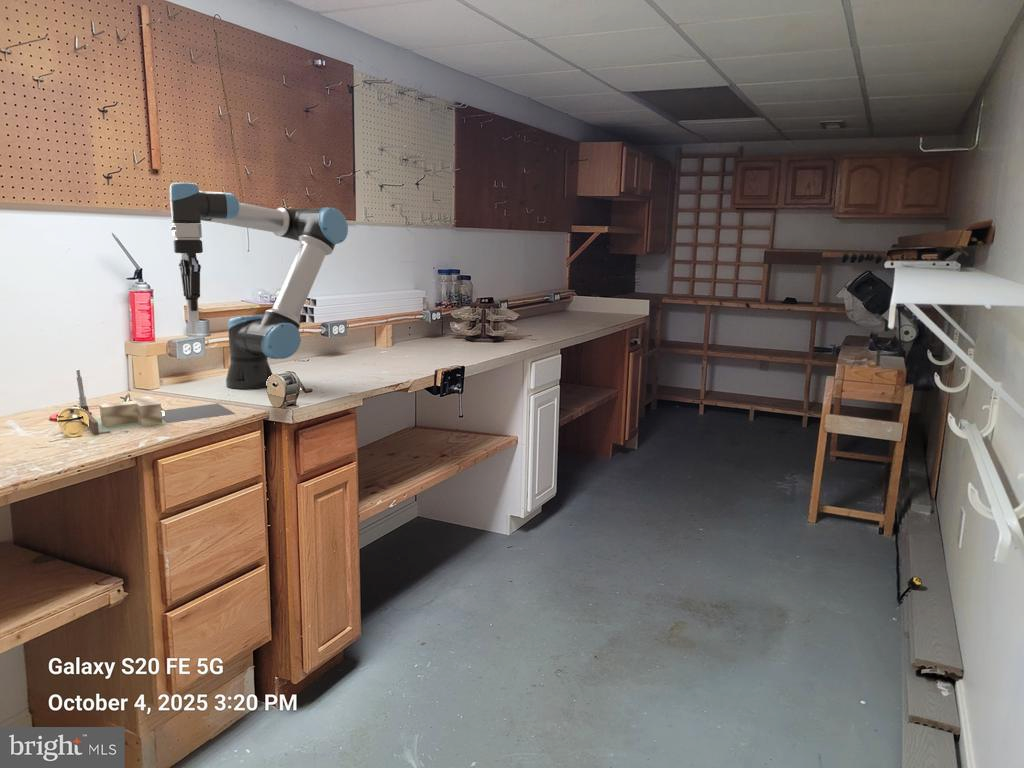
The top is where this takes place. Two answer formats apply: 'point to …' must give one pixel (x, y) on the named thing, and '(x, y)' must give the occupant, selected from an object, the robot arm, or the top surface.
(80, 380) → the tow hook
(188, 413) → the mat
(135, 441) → the top surface
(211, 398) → the top surface
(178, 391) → the top surface
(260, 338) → the robot arm
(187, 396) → the top surface
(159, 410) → the t block
